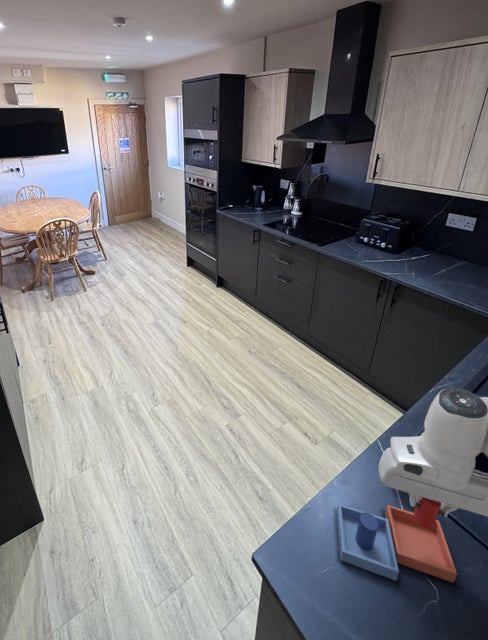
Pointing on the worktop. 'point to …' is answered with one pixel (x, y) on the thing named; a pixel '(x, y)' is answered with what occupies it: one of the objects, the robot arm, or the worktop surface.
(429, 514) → the red peg
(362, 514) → the blue peg
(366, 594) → the worktop surface
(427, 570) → the red bin
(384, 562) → the blue bin
